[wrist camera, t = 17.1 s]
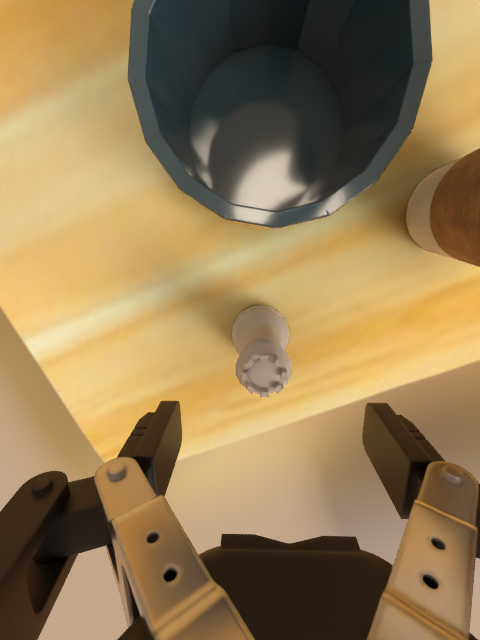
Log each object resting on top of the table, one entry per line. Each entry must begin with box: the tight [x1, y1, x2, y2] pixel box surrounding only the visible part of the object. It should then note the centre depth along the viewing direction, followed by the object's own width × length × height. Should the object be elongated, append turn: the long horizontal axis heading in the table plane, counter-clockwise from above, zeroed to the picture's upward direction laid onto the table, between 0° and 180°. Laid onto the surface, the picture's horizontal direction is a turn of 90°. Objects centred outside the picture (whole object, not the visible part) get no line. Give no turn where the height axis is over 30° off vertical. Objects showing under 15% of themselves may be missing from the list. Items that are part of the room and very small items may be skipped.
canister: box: [128, 0, 432, 229], centre depth 16 cm, size 11×11×10 cm
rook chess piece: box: [232, 306, 292, 397], centre depth 21 cm, size 4×4×8 cm
